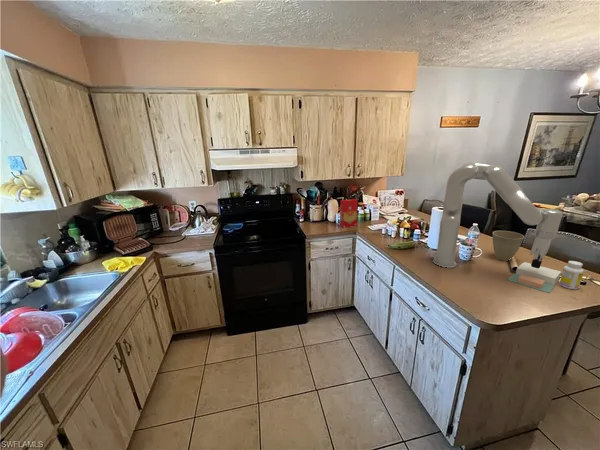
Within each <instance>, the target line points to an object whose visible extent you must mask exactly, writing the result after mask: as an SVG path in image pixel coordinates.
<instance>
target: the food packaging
mask: <svg viewBox="0 0 600 450" xmlns="http://www.w3.org/2000/svg"><path fill="white" fill-rule="evenodd" d="M339 201H340V203H339V204H340V205H339V206H340V207H339V226H341V227H342V229H345V228H344V227H348V228H351V227H350V226H354V227H357V226H358V199H356V198H351V199H341V200H339ZM341 227H340V228H341Z"/></svg>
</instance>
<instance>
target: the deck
mask: <svg viewBox="0 0 600 450" xmlns="http://www.w3.org/2000/svg"><path fill="white" fill-rule="evenodd" d="M531 264H532V263H530V262H526V261H524V262H523V263H521V264H520V265H519V266H518V267H517V268H516V271H515V274H517V275H522V274H524V275H528V276H531V277H535V278H538V279H542V280H545V283H548V284H551V285H555V284H557V282H558V281H559V280H560V278H561V275H562V271H560V270H556V269H552V268H549V267H544V266H542V265H541V266H540V268H539V269H538V268H534V267H531Z"/></svg>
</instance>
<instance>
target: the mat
mask: <svg viewBox="0 0 600 450" xmlns="http://www.w3.org/2000/svg"><path fill="white" fill-rule="evenodd" d="M520 276H521V275H517V274H516V273H513V274H512V275H511V276H510V277H509V278H507V281H508V282H509V281H510V282H511V283H512V282H513V283H515V284H519V285H522V286H525V287H528V288H530V289H531V288H532V289H534V290H537V291H541V292H544V293H547V294H550V293H551V292H552V290H553V289H554V288H555V286H556V285H555V284H554V285H551V284H548V283H545V284H544V286H543V287H542V288H541V289H539V288H536V287H533V286H529V285H526V284H523V283H520V282H518V278H519V277H520Z"/></svg>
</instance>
